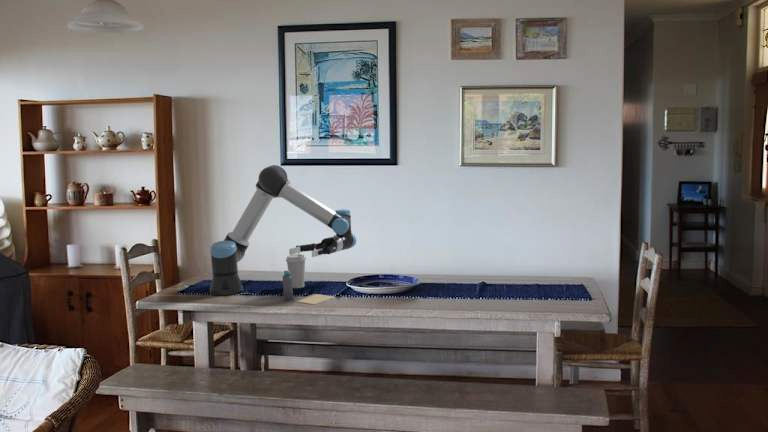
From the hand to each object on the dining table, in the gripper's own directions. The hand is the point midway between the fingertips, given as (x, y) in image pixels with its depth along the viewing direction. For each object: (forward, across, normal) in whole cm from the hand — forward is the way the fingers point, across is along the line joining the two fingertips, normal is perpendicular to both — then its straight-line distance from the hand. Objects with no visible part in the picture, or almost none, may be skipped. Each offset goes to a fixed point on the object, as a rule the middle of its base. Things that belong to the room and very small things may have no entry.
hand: (301, 253), depth 303 cm
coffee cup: (-11, -14, +20) cm, 27 cm away
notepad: (+4, +10, +19) cm, 22 cm away
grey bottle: (+10, 0, +19) cm, 22 cm away
